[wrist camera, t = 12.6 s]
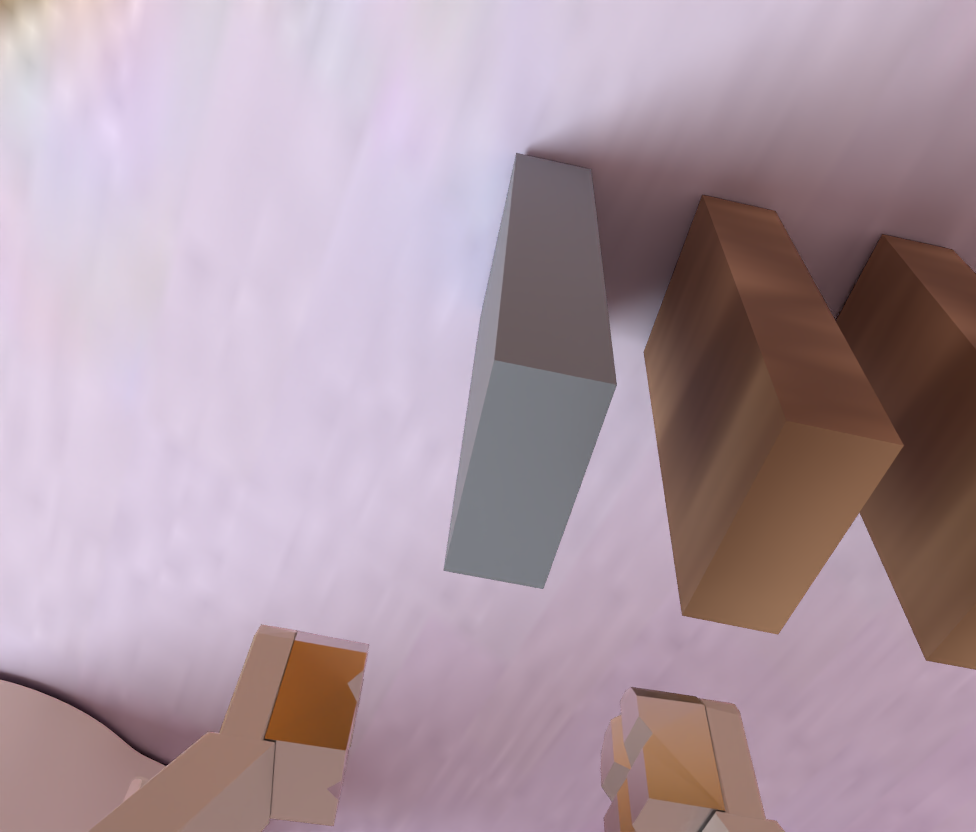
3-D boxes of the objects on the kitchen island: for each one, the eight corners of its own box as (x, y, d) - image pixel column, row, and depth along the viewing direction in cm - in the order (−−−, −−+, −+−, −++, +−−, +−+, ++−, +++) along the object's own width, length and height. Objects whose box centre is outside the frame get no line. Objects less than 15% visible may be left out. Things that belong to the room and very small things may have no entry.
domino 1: (775, 211, 21) (904, 445, 13) (707, 365, 24) (778, 634, 16) (702, 194, 21) (786, 420, 13) (643, 352, 24) (682, 615, 16)
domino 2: (952, 249, 21) (1193, 503, 13) (864, 397, 24) (1017, 677, 16) (882, 234, 21) (1082, 480, 13) (802, 384, 24) (925, 660, 16)
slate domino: (591, 169, 21) (616, 385, 13) (546, 331, 24) (543, 589, 16) (516, 152, 21) (493, 360, 13) (480, 317, 24) (443, 570, 15)
